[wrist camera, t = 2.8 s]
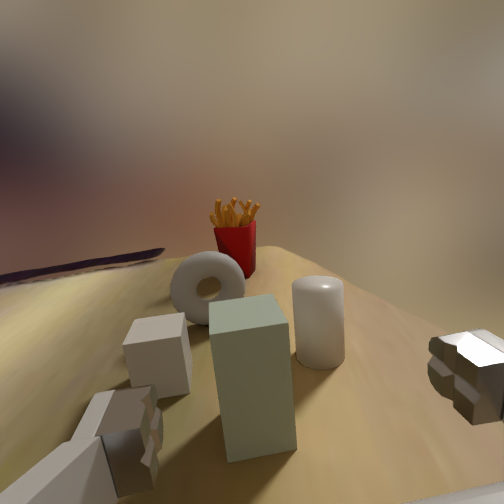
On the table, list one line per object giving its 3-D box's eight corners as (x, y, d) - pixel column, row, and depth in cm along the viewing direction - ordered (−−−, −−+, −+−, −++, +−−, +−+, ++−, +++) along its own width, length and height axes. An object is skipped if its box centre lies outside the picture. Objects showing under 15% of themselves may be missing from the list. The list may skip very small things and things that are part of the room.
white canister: (304, 373, 30) (299, 297, 28) (290, 346, 35) (286, 279, 33) (353, 364, 31) (352, 289, 29) (333, 339, 36) (331, 273, 34)
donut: (244, 309, 45) (237, 242, 43) (252, 319, 42) (245, 247, 40) (175, 326, 42) (162, 255, 40) (178, 338, 39) (165, 262, 37)
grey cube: (134, 403, 29) (122, 345, 27) (145, 370, 33) (134, 319, 32) (190, 393, 29) (180, 336, 28) (192, 362, 34) (184, 312, 32)
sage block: (227, 463, 22) (209, 334, 19) (223, 410, 27) (208, 302, 24) (297, 449, 22) (288, 322, 20) (281, 400, 27) (272, 293, 25)
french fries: (230, 268, 66) (221, 196, 62) (268, 267, 63) (262, 193, 59) (214, 283, 57) (203, 201, 54) (258, 283, 55) (249, 198, 51)
